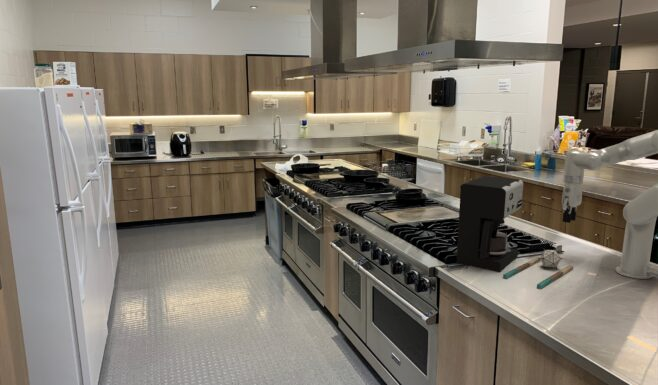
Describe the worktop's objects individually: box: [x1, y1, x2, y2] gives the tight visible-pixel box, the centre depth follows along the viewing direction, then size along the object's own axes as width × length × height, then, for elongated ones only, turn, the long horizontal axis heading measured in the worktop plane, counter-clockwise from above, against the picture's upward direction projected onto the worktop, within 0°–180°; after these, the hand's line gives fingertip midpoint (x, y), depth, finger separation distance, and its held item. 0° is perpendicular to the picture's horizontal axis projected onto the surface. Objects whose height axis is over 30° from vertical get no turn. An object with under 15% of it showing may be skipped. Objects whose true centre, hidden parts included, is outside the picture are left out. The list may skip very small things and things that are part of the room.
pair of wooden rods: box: [502, 256, 574, 290], centre depth 194 cm, size 15×30×2 cm, turn 133°
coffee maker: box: [456, 175, 524, 273], centre depth 205 cm, size 28×20×35 cm
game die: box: [538, 248, 564, 270], centre depth 200 cm, size 9×8×10 cm
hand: (568, 220), depth 208 cm, fingers open, 4 cm apart
